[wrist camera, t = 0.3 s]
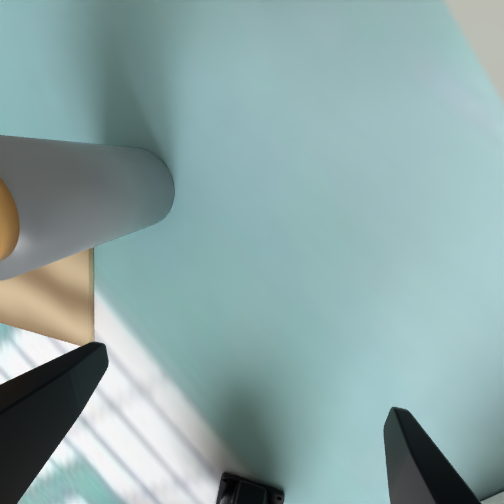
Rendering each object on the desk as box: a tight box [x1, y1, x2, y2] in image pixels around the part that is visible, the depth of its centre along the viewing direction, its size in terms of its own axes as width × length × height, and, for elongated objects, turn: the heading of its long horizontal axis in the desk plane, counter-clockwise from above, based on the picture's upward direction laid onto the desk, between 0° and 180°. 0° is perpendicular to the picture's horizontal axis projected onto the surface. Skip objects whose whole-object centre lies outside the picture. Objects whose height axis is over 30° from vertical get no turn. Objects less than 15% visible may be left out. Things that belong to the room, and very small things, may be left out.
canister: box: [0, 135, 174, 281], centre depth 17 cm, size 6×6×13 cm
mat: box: [0, 247, 94, 346], centre depth 27 cm, size 12×12×1 cm
